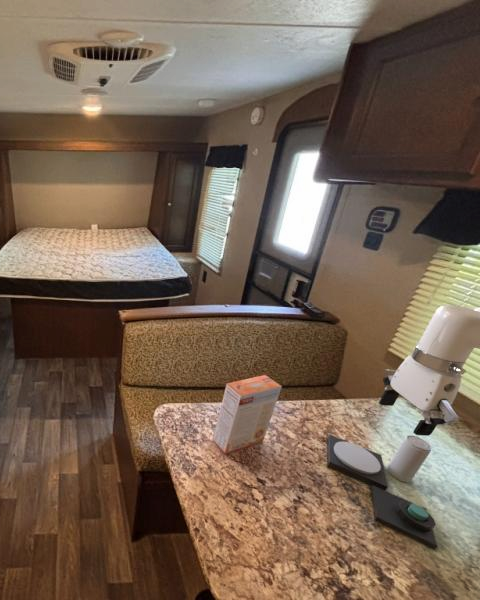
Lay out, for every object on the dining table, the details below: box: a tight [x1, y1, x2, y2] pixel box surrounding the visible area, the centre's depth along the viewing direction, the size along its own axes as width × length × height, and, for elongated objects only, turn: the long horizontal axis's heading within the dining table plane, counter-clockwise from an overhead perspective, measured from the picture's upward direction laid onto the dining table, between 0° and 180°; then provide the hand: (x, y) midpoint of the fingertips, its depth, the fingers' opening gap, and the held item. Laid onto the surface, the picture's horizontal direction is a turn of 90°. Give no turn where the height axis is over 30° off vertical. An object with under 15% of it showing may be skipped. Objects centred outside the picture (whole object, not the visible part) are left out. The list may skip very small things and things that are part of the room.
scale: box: [326, 434, 389, 491], centre depth 87 cm, size 12×12×3 cm
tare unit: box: [369, 485, 438, 550], centre depth 74 cm, size 10×10×3 cm
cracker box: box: [212, 374, 283, 455], centre depth 89 cm, size 14×6×21 cm, turn 108°
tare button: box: [407, 503, 429, 521], centre depth 72 cm, size 3×3×2 cm
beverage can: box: [386, 434, 432, 483], centre depth 82 cm, size 5×5×12 cm
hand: (402, 418), depth 77 cm, fingers open, 9 cm apart
